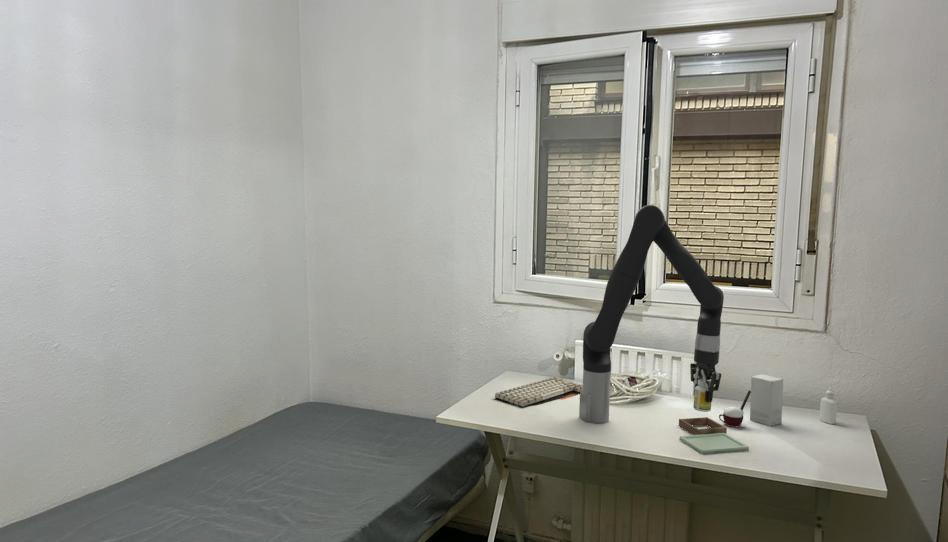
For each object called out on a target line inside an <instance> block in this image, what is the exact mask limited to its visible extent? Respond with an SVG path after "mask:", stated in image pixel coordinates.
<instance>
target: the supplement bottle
mask: <svg viewBox="0 0 948 542" xmlns="http://www.w3.org/2000/svg"><path fill="white" fill-rule="evenodd" d="M707 381H710V380H707ZM709 387H710V384H709ZM694 390H695V394H694V393H693V395H694V396H693V409H694V410H695V411H698V412H703V413H708V412H711V409H712V402H708V403H707V402H705V391H706V387H705V384H704V382H703V379H699V380H698V386H696V387H695V386H694Z"/></svg>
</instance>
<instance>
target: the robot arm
mask: <svg viewBox="0 0 948 542" xmlns="http://www.w3.org/2000/svg"><path fill="white" fill-rule="evenodd" d="M632 223H633V224H632V226H631V227H632V228H631V229H630V233H629V236H628V239H627V241H626V244H625V246H624V248H623V249H622V250H621V253H620V255H619V256H618V258H617V260H616V262H615V265H614V267H613V268H612V271H611V273H610V275H609V276H608V277H609V278H608V280H607V283H606V286H605V291H604V294H603V301H602V305H601V308H600V310H599V313H598V314H597V317H596V319H595V321H592V322H590V323H588V324H587V325H586V326H585V328H584V331H583V336H582V337H583V338H582V361H583V366H582V367H583V369H582V370H583V371H582V385H583V389H582V390H580V394H579V405H578V406H579V407H578V411H579V412H578V417H579V418H580V419H581V420H583V421H584V422H585V423H592V424H604V423H608V422H609V421H610V402H611V401H610V400H611V399H610V398H611V397H610V396H611V378H612V361H611V359H612V358H611V347H612V346H613V345H614V342H615V340H616V339H615V338H616V337H617V332H618V329H619V326H620V324H621V320H622V318H623V315H624V313H625V311H626V310H627V307H628V306H629V303H630V301H631V299H632V297H633V295H634V293H635V290H636V289H637V287H638V284H639V281H640V279H641V277H642V274H643V271H644V267H645V264H646V259H647V256H648V253H649V251H650V247H651V245H652V244H653V242H654V244H656V246H657V247H658V248H659V249H660V250H661V251H662V253H663V254H664V255H665V257H666V259H667V261H668V262H669V263H670V265H671V266H672V267H673V269H674V270H675V271H676V273H677V274H678V275H679V277H680V278H681V279H682V281H683V282H684V283H685V284H686V285H687V287H689V290H690V291H691V294H693V296H694V298H695V299H696V300H697V301H698V303H699V306H700V308H699V309H700V310H699V312H700V313H699V317H698V319H697V327H696V328H697V329H696V336H695V341H694V353H693V361H694V362H695V363H694V362H693V363H690V365H689V366H690V382H693V385H694V388H695V387H696V386H698V380H699V379H703V382H704V384H705V387H706V391H705V402H707V403H708V402H711V403H712V402H713V397H714V391H717V392H718V390H719V388H720V383H721V378H722V373H720V372H717V370H716V365H718V364H719V359H720V348H721V330H722V329H721V327H722V322H721V321H722V320H721V318H722V313H723V307H724V299H725V297H724V296H725V295H724V292H723V290H722V289H721V288H720V287H719V286H716V285H714V283H713V282H712V280H710V279H709V277H708V275H707V273H706V271H705V270H704V268H703V267H702V265H701V264H700V263H699V262H698V261H697V260H696V258H695V257H694V256H693V255H692V254H691V252H689V250H688V249H687V248H686V247H685V246H684V244H682V243H681V242H680V241H679V239H678V238H677V237H676V235H675V234H674V232H673V231H672V230H671V228H670V226H669V225H668V222H667V221H666V217H665V215H664V213H663V211H662V210H661V209H660V208H659V206H657V205H654V204H646V205H644V206H643V207H640V209H639V210H637V212H636V214H635V216H634V221H633V222H632ZM707 380H709V381H707ZM709 384H710V387H709ZM693 391H694V393H693V395H694V394H695V389H693Z"/></svg>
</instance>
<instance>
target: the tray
mask: <svg viewBox="0 0 948 542" xmlns="http://www.w3.org/2000/svg"><path fill="white" fill-rule="evenodd" d="M678 440H679V441H680V440H681V441H680V442H682V443H683V444H685V443H686V444H685V445H687V446H688V447H690V448H692V449H693V450H694V451H696V452H698V453H699V454H701V455H711V454H721V453H722V454H723V453H724V454H725V453H732V452H733V453H734V452H745V451H746V452H747V451H749V450H750V446H749V445H747V444H745V443H744V442H741V441H740V440H738V439H736V438H734V437H733V436H731V435H729V434H727V432H726V433H714V434H701V435H692V434H691V435H690V434H689V435H687V434H686V435H680V436H679V437H678Z"/></svg>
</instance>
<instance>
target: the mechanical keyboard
mask: <svg viewBox="0 0 948 542" xmlns="http://www.w3.org/2000/svg"><path fill="white" fill-rule="evenodd" d="M582 389H583V383H578V382H573V381H571V380H568V379H563V378H562V377H558V376H553V377H549V378H545V379H541V380H538V381H535V382H530V383H527V384H523V385H521V386H517V387H513V388H509V389H506V390H505V389H504V390H503V391H499V392H498V391H497V392H495V394H494V400H495V401H498V402H501V403H503V404H504V403H505V404H508V405H510V406H515V407H518V408H519V407H520V408H527V407H534V406H535V407H536V406H539V405H543V404H547V403H550V402H553V401H557V400H562V401H563V400H566V399H569V398H573V397H576V396H578V394H579V395H580V390H582Z"/></svg>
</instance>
